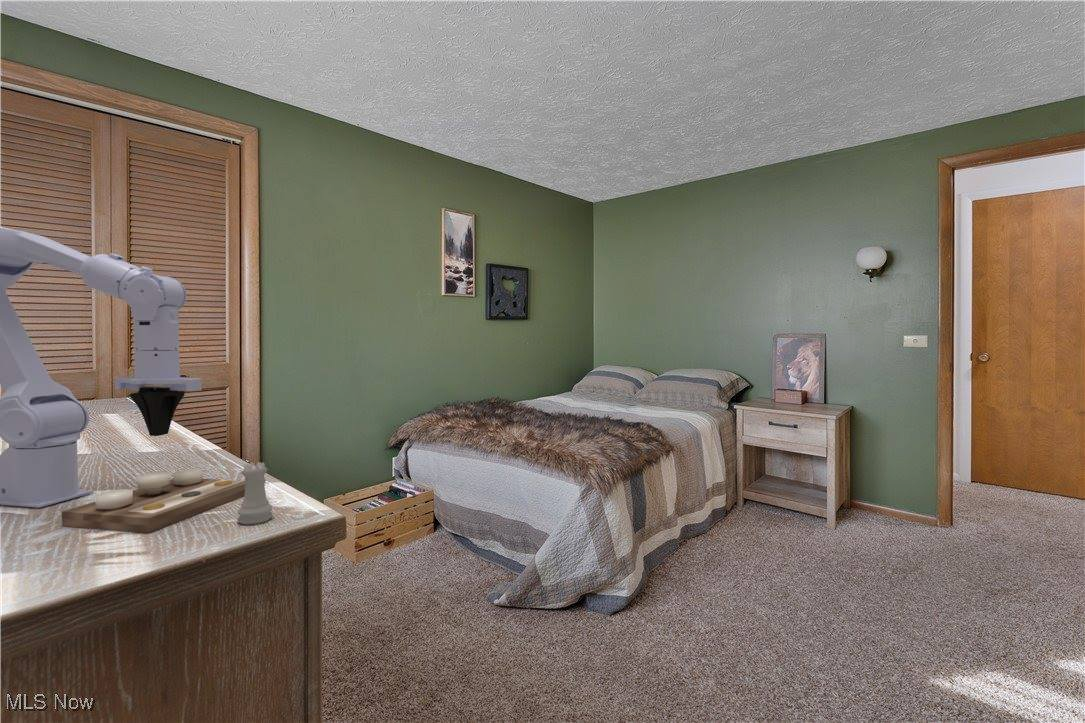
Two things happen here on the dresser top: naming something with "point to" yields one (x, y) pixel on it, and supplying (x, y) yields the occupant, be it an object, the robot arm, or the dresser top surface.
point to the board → (157, 507)
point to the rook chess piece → (254, 496)
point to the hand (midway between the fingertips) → (159, 434)
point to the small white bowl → (188, 477)
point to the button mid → (153, 481)
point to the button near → (114, 499)
